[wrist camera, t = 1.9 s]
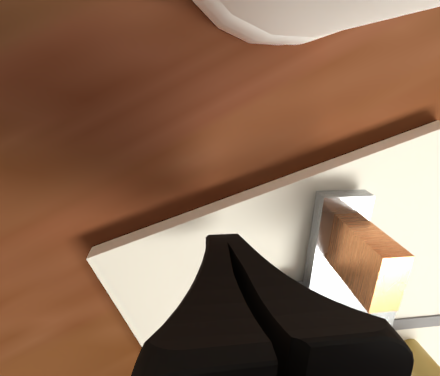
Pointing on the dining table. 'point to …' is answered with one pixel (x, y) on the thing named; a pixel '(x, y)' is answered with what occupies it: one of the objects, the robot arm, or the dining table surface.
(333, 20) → the bottle
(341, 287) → the grey metal bracket
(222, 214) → the base board
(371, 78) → the dining table surface
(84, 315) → the dining table surface
